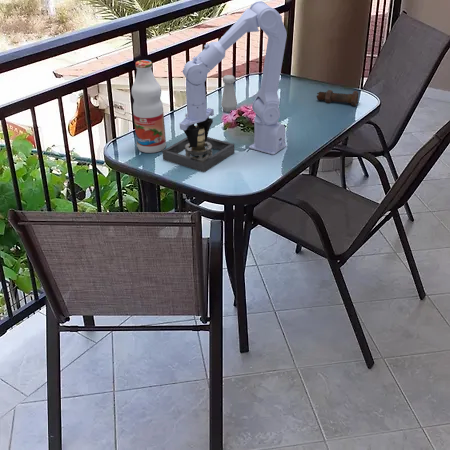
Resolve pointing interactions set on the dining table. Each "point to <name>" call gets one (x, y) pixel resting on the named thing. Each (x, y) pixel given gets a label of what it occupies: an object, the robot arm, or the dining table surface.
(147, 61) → the fruit juice
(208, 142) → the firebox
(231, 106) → the salt shaker
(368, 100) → the dining table surface
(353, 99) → the bolt
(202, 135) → the beige cylinder
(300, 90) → the dining table surface
